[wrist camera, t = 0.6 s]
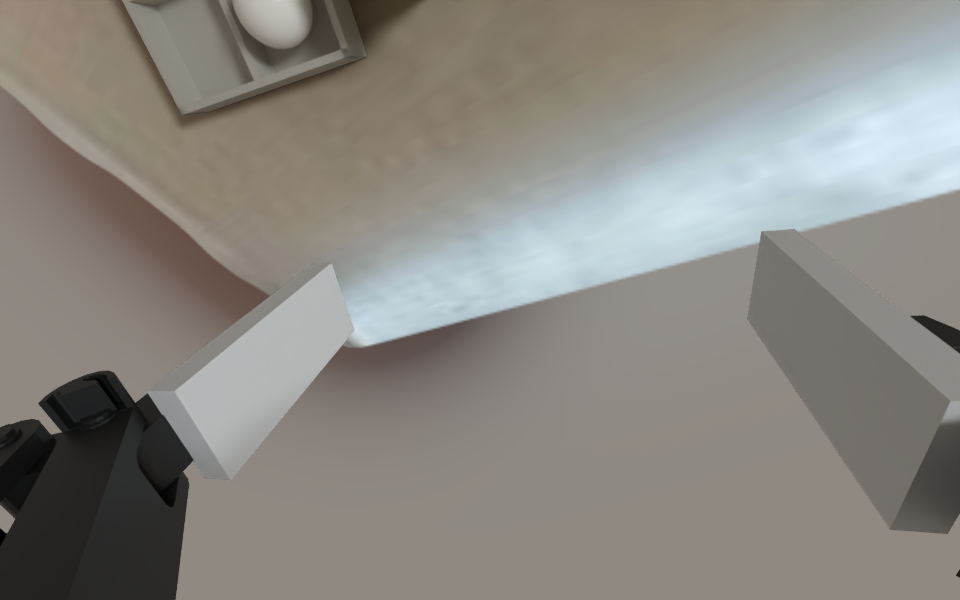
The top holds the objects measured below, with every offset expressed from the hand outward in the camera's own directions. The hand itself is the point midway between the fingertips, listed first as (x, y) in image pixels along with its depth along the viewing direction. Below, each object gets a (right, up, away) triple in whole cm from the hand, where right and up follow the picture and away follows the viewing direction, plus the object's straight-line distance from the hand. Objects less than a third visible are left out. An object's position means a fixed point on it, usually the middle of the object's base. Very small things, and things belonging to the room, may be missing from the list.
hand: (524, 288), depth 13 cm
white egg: (-17, +23, +21) cm, 36 cm away
